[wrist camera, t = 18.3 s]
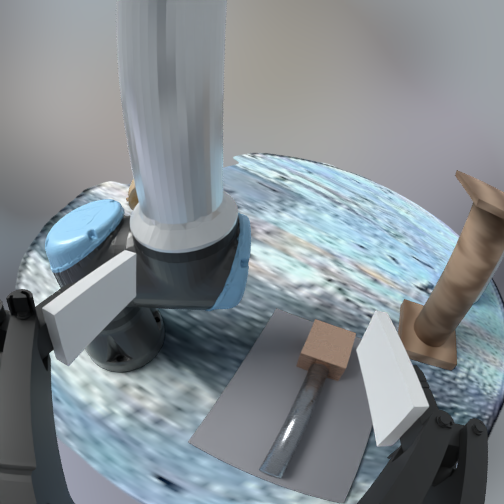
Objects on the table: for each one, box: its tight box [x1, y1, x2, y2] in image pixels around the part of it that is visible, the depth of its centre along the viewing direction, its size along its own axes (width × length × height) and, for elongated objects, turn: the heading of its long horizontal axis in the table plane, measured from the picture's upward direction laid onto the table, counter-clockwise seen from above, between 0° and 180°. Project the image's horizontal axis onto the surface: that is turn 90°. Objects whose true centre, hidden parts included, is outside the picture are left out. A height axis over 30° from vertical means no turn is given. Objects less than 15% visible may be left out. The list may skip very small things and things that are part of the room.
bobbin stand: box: [398, 170, 504, 370], centre depth 34 cm, size 13×13×30 cm
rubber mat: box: [188, 308, 373, 503], centre depth 35 cm, size 22×28×1 cm
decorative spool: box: [126, 178, 139, 210], centre depth 76 cm, size 10×12×30 cm
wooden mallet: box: [259, 319, 356, 479], centre depth 33 cm, size 24×7×4 cm, turn 154°
